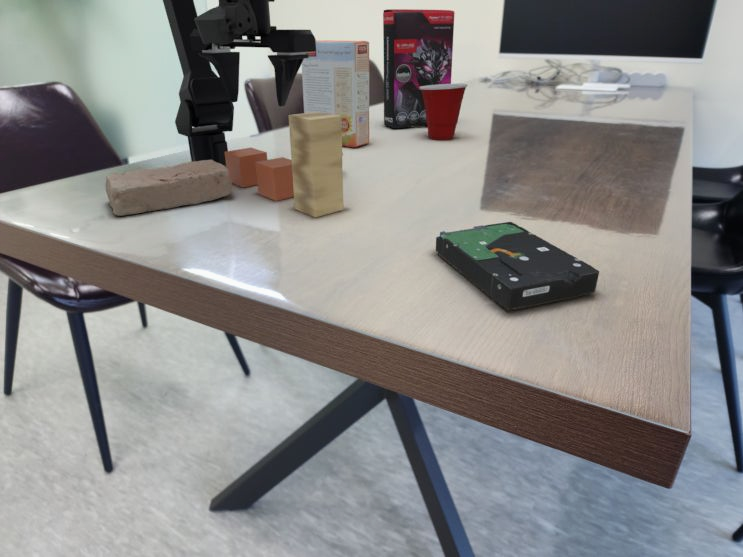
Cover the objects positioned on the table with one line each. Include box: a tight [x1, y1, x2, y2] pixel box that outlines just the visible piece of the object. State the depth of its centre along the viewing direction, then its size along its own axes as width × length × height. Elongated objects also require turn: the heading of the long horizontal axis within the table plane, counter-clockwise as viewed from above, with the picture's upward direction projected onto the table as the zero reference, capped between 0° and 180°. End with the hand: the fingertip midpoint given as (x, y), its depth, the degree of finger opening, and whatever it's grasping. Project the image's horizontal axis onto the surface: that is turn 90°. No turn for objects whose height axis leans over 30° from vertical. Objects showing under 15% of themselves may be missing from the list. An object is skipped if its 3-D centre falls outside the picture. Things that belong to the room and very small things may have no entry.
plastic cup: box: [420, 83, 468, 141], centre depth 117 cm, size 11×11×12 cm
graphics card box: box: [382, 8, 456, 129], centre depth 128 cm, size 17×7×27 cm, turn 115°
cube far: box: [225, 147, 268, 189], centre depth 84 cm, size 5×5×5 cm
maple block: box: [288, 111, 344, 219], centre depth 69 cm, size 5×5×13 cm
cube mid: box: [255, 156, 294, 202], centre depth 78 cm, size 5×5×5 cm
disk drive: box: [435, 221, 600, 311], centre depth 53 cm, size 10×3×15 cm
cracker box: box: [301, 39, 370, 148], centre depth 109 cm, size 14×6×21 cm, turn 58°
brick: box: [104, 160, 233, 217], centre depth 75 cm, size 17×8×5 cm, turn 123°
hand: (257, 104), depth 76 cm, fingers open, 9 cm apart
